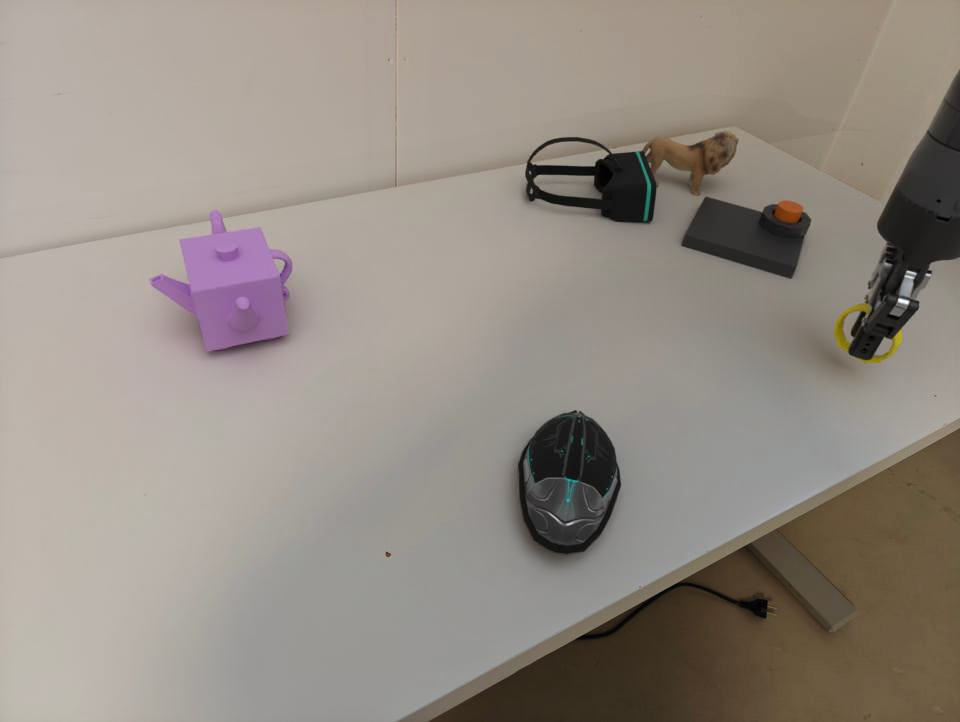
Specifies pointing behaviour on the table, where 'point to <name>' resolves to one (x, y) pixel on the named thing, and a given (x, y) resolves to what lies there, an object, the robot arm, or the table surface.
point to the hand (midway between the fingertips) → (859, 346)
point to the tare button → (788, 211)
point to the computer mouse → (568, 483)
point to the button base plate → (747, 236)
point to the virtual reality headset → (603, 183)
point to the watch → (845, 344)
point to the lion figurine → (693, 156)
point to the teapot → (231, 286)
